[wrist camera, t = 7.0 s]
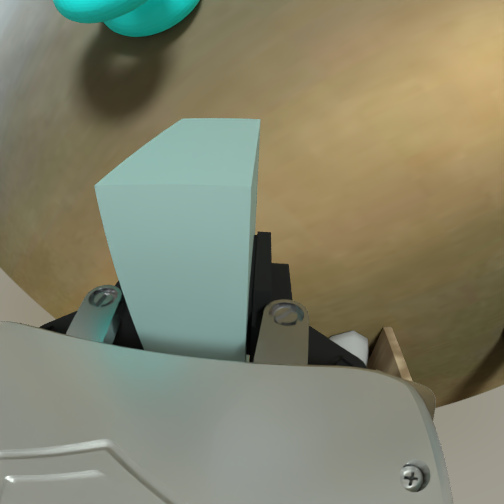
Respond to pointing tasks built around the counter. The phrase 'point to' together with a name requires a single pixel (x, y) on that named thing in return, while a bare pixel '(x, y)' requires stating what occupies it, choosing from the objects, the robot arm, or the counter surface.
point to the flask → (353, 344)
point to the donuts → (128, 14)
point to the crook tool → (186, 235)
